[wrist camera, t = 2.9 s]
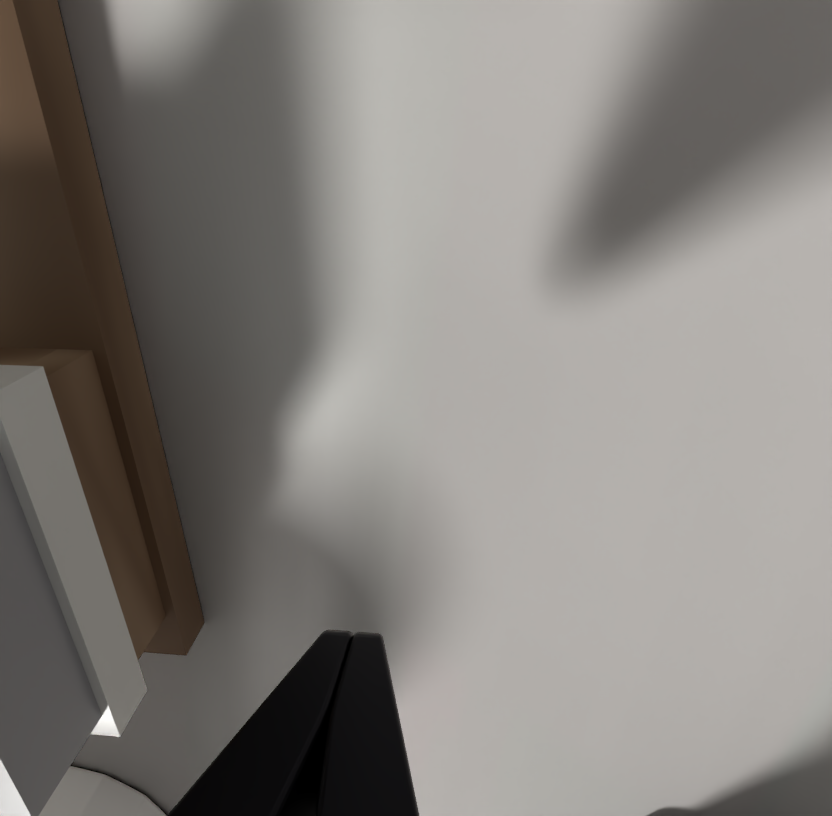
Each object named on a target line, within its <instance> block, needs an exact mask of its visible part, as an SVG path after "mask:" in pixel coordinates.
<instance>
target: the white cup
mask: <svg viewBox="0 0 832 816" xmlns="http://www.w3.org/2000/svg"><path fill="white" fill-rule="evenodd" d="M39 816H167V815H166V814H165V813H164V812H163V811H162V810H161V809H160V808H159V807H158V806H157V805H155V804H154V803H153V802H152V801H151V800H150V799H149V798H148V797H147V796H146V795H144V794H142V793H140V792H138V791H137V790H135V789H133V788H131V787H129V786H128V785H126V784H123V783H121V782H119V781H117V780H115V779H113V778H111V777H109V776H107V775H105V774H101V773H97V772H93V771H90V770H86V769H82V768H77V767H73V766H70V767H69V769H68V770H67V772H66V773H65V775H64V776H63V778H62V780H61V781H60V783H59V784H58V786H57V787H56V789H55V791H54V792H53V794H52V795H51V797H50V798H49V800H48V802H47V803H46V805H45V806H44V808H43V809H42V811H41V813H40V814H39Z"/></svg>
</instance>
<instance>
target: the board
mask: <svg viewBox="0 0 832 816" xmlns="http://www.w3.org/2000/svg"><path fill="white" fill-rule="evenodd" d="M0 365H20V366H43V368H44V371H45V374H46V377H47V380H48V383H49V386H50V389H51V392H52V395H53V399H54V402H55V405H56V408H57V411H58V414H59V417H60V420H61V423H62V427H63V430H64V433H65V436H66V439H67V442H68V445H69V448H70V451H71V454H72V458H73V461H74V464H75V467H76V470H77V473H78V476H79V479H80V482H81V485H82V489H83V492H84V495H85V498H86V501H87V504H88V507H89V510H90V513H91V516H92V520H93V523H94V526H95V529H96V532H97V535H98V538H99V541H100V544H101V547H102V551H103V554H104V557H105V560H106V563H107V566H108V569H109V572H110V575H111V579H112V582H113V585H114V588H115V591H116V594H117V597H118V600H119V603H120V606H121V610H122V613H123V616H124V619H125V622H126V625H127V628H128V631H129V634H130V637H131V641H132V644H133V647H134V650H135V653H136V656H137V659H138V660H139V658H140V657H141V655H142V653H143V652H149V653H162V654H175V655H187V654H188V652H189V650H190V648H191V646H192V644H193V643H194V641H195V639H196V637H197V635H198V633H199V632H200V630H201V628H202V626H203V624H204V619H203V615H202V610H201V606H200V602H199V598H198V593H197V589H196V585H195V581H194V576H193V572H192V568H191V564H190V559H189V555H188V551H187V547H186V543H185V538H184V534H183V530H182V526H181V521H180V517H179V513H178V509H177V504H176V500H175V496H174V492H173V488H172V483H171V479H170V475H169V471H168V466H167V462H166V458H165V454H164V449H163V445H162V441H161V437H160V433H159V428H158V424H157V420H156V416H155V411H154V407H153V403H152V399H151V394H150V390H149V386H148V382H147V378H146V373H145V369H144V365H143V361H142V356H141V352H140V348H139V344H138V339H137V335H136V331H135V327H134V323H133V318H132V314H131V310H130V306H129V301H128V297H127V293H126V289H125V284H124V280H123V276H122V272H121V268H120V263H119V259H118V255H117V251H116V246H115V242H114V238H113V234H112V229H111V225H110V221H109V217H108V213H107V208H106V204H105V200H104V196H103V191H102V187H101V183H100V179H99V174H98V170H97V166H96V162H95V157H94V153H93V149H92V145H91V141H90V136H89V132H88V128H87V124H86V119H85V115H84V111H83V107H82V102H81V98H80V94H79V90H78V86H77V81H76V77H75V73H74V69H73V64H72V60H71V56H70V52H69V47H68V43H67V39H66V35H65V31H64V26H63V22H62V18H61V14H60V9H59V5H58V1H57V0H0Z"/></svg>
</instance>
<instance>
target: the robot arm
mask: <svg viewBox="0 0 832 816" xmlns="http://www.w3.org/2000/svg"><path fill="white" fill-rule="evenodd" d="M167 816H419V812H418V807H417V802H416V797H415V792H414V788H413V783H412V778H411V773H410V768H409V763H408V758H407V753H406V748H405V743H404V739H403V734H402V729H401V724H400V719H399V714H398V709H397V704H396V699H395V694H394V690H393V685H392V680H391V675H390V670H389V665H388V660H387V655H386V650H385V645H384V641H383V637H382V635H381V634H379V633H368V632H357V633H355V634H354V636H353V633H351V632H349V631H340V630H326V631H324V632H323V633H322V634H321V635H320V636H319V637H318V639H317V640H316V641H315V642H314V643H313V644H312V646H311V647H310V648H309V649H308V650H307V651H306V653H305V654H304V655H303V656H302V657H301V659H300V660H299V661H298V662H297V663H296V664H295V666H294V667H293V668H292V669H291V670H290V672H289V673H288V674H287V675H286V676H285V677H284V679H283V680H282V681H281V682H280V683H279V685H278V686H277V687H276V688H275V689H274V690H273V692H272V693H271V694H270V695H269V696H268V697H267V699H266V700H265V701H264V702H263V703H262V705H261V706H260V707H259V708H258V709H257V710H256V712H255V713H254V714H253V715H252V716H251V718H250V719H249V720H248V721H247V722H246V723H245V725H244V726H243V727H242V728H241V729H240V731H239V732H238V733H237V734H236V735H235V736H234V738H233V739H232V740H231V741H230V742H229V743H228V745H227V746H226V747H225V748H224V749H223V751H222V752H221V753H220V754H219V755H218V756H217V758H216V759H215V760H214V761H213V762H212V764H211V765H210V766H209V767H208V768H207V769H206V771H205V772H204V773H203V774H202V775H201V777H200V778H199V779H198V780H197V781H196V782H195V784H194V785H193V786H192V787H191V788H190V789H189V791H188V792H187V793H186V794H185V795H184V797H183V798H182V799H181V800H180V801H179V802H178V804H177V805H176V806H175V807H174V808H173V810H172V811H171V812H170V813H169V814H168V815H167Z"/></svg>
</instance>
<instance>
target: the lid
mask: <svg viewBox="0 0 832 816" xmlns="http://www.w3.org/2000/svg"><path fill="white" fill-rule="evenodd" d="M146 692H147V687H146V684H145V681H144V678H143V675H142V672H141V668H140V665H139V662H138V659H137V656H136V653H135V650H134V647H133V644H132V641H131V637H130V634H129V631H128V628H127V625H126V622H125V619H124V616H123V613H122V610H121V606H120V603H119V600H118V597H117V594H116V591H115V588H114V585H113V582H112V579H111V575H110V572H109V569H108V566H107V563H106V560H105V557H104V554H103V551H102V547H101V544H100V541H99V538H98V535H97V532H96V529H95V526H94V523H93V520H92V516H91V513H90V510H89V507H88V504H87V501H86V498H85V495H84V492H83V489H82V485H81V482H80V479H79V476H78V473H77V470H76V467H75V464H74V461H73V458H72V454H71V451H70V448H69V445H68V442H67V439H66V436H65V433H64V430H63V427H62V423H61V420H60V417H59V414H58V411H57V408H56V405H55V402H54V399H53V395H52V392H51V389H50V386H49V383H48V380H47V377H46V374H45V371H44V368H43V366H20V365H0V816H39V814H40V813H41V811H42V809H43V808H44V806H45V805H46V803H47V802H48V800H49V798H50V797H51V795H52V794H53V792H54V791H55V789H56V787H57V786H58V784H59V783H60V781H61V780H62V778H63V776H64V775H65V773H66V772H67V770H68V769H69V767H70V765H71V764H72V762H73V761H74V759H75V758H76V756H77V754H78V753H79V751H80V750H81V748H82V747H83V745H84V743H85V742H86V740H87V739H88V737H89V736H90V734H94V735H105V736H116V737H120V736H121V735H122V733H123V731H124V729H125V728H126V726H127V724H128V723H129V721H130V719H131V717H132V716H133V714H134V712H135V711H136V709H137V707H138V705H139V704H140V702H141V700H142V699H143V697H144V695H145V693H146Z"/></svg>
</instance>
